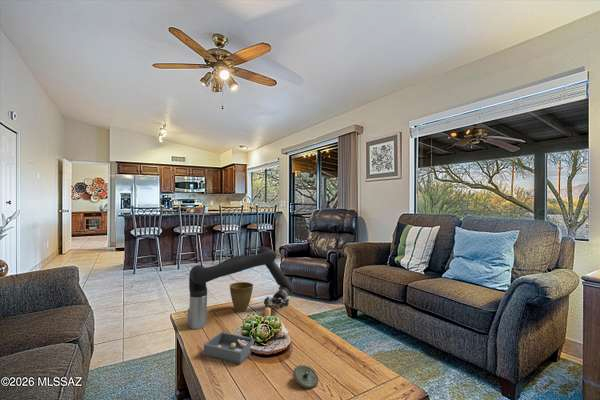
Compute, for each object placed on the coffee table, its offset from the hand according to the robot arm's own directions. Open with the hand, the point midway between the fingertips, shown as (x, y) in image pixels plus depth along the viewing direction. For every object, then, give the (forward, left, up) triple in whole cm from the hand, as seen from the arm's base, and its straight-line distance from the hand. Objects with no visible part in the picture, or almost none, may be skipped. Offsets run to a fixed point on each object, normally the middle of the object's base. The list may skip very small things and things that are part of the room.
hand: (273, 306), depth 165 cm
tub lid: (+1, -11, -11) cm, 16 cm away
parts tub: (-7, -34, -11) cm, 36 cm away
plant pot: (-29, +13, -11) cm, 34 cm away
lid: (+33, -42, -11) cm, 54 cm away
